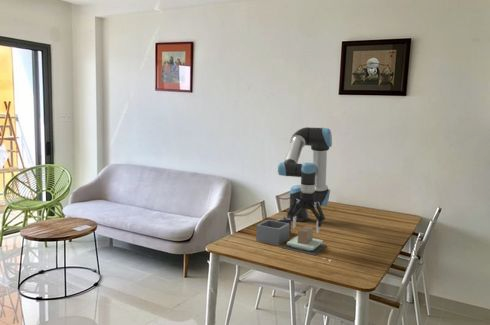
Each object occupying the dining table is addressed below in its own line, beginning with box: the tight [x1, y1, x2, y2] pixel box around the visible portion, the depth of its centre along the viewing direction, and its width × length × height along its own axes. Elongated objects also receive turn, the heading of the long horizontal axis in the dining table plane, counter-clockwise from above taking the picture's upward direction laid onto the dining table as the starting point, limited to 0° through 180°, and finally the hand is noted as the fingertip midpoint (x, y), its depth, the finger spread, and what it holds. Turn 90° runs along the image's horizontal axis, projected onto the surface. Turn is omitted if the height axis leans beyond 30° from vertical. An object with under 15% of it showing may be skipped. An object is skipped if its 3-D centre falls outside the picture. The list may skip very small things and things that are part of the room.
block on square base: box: [286, 225, 324, 251], centre depth 214 cm, size 15×15×10 cm
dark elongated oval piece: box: [276, 215, 292, 235], centre depth 237 cm, size 9×3×11 cm, turn 109°
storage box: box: [255, 219, 290, 246], centre depth 225 cm, size 14×14×9 cm
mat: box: [282, 243, 327, 256], centre depth 214 cm, size 18×18×1 cm
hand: (305, 230), depth 214 cm, fingers open, 13 cm apart
